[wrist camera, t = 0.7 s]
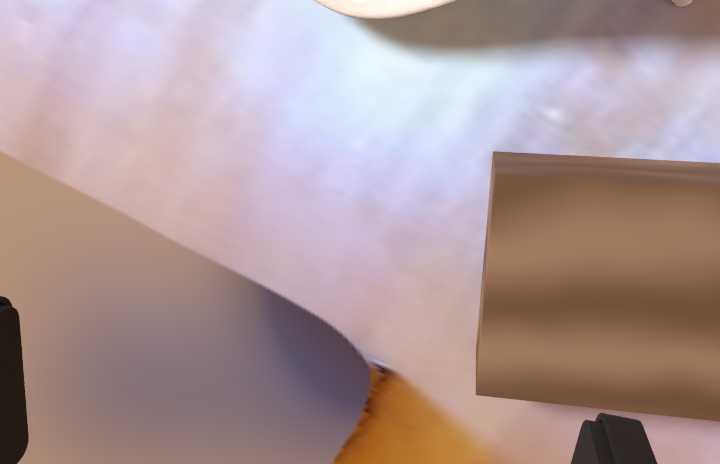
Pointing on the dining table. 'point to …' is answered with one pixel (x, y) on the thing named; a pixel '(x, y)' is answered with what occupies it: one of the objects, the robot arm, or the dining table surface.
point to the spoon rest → (397, 7)
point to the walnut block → (602, 284)
